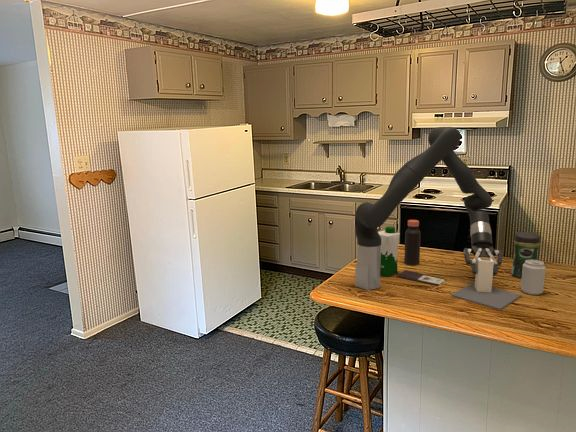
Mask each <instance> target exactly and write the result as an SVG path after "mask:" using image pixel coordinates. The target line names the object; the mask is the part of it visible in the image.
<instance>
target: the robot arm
mask: <svg viewBox="0 0 576 432" xmlns="http://www.w3.org/2000/svg"><path fill="white" fill-rule="evenodd" d="M461 138H462V137H461V132H460V130H459V129H457V128H456V127H452V126H440V127H438V126H437V127H435V128H433V129H432V130H431V131H430V132H429V134H428V137H427V139H428V141H427V142H428V143H429V147H427V148H426V150H424V151H423V152H421V153H419V154H418V155H416V156H414V157H413V158H411V159H410V160H408V161H407V162H405V163H404V164H403V165H402V166H401V167H400V168H399V169H397V171H396V172H395V174H394V175H393V176H392V178H391V180H390V182H389V185H388V188H387V189H386V192H384V193H383V195H382V196H381V197H380V198H379V199H377V201H375V202H374V203H371V202H368V201H367V202H362V203H360V204H359V205H358V206H357V209H356V211H355V214H354V215H355V218H354V221H355V222H354V224H355V225H354V227H355V236H356V240H357V241H356V242H357V243H356V245H357V248H356V250H357V251H356V253H357V254H356V263H355V278H354V279H355V281H354V282H355V283H354V285H355V287H356V288H358V289H359V288H360V289H363V290H365V291H369V290H376V289H379V288H380V287H381V278H382V275H381V237H380V235H379V233H378V232H379V231H378V228H380V227H381V226H383V224H384V223H386V222H387V220H388V219H389V218H390V216H391V215H392V213H393V212H394V211H395V210H396V208H397V207H398V206H399V205H400V204H401V203H402V202H403V200H405V198H407V197H408V196H409V194H410V193H411V192H412V191H413V190H414V189H415V188H416V187H418V185H419V184H421V182H422V181H423V180H424V179H425V177H427V175H428V174H429V173H431V171H432V170H433V169H434V168H435V167H436V166H437V165H438V164H439V163H441V162H442V163H443V164H444V165H445V166H446V167H447V169H448V171H449V172H450V174H451V175H452V177H453V178H454V180H455V182H456V184H457V186H458V188H459V189H460V190H461V192H462V193H463V194H466V195H467V194H469V195H467V196H466V197H465V198H464V199H463V205H464V207H465V209H466V211H467V214H468V217H469V223H470V232H469V233H470V235H469V236H470V239H471V240H470V243H471V248H468V247H465V248H464V249H463V257H464V261H465V263H466V265H470V267H471V273H472V274H473V275H476V274H477V268H476V261H477V258H478V257H488V258H491V259H492V260H493V261H494V266H493V277H495V276H496V275H498V272H499V269H498V267H500V266H501V265H502V263H503V255H504V254H503V249H495V248H494V245H493V237H492V228H491V224H490V216H489V214H488V212H487V211H483V210H484V209H489V208H490V207H491V206H492V203H493V198H492V196H491V195H490V193H489V192H488V191H487V190H486V189H485V188H484V187H482V185H481V184H480V183H479V181H478V180H477V179H476V176H475V175H474V173H473V171H472V170H471V169H470V167H469V166H468V165H467V164H466V163H465V162H464V160H462V159H461V158H460V157H459V155H457V153H456V152H455V149H456V148H457V147H458V146H459V144H460V142H461ZM470 254H472V255H473V259H471V257H470ZM494 254H495V256H496V257H497V260H496V259H495V256H494Z"/></svg>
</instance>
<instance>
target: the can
mask: <svg viewBox="0 0 576 432" xmlns="http://www.w3.org/2000/svg"><path fill="white" fill-rule="evenodd" d="M545 276H546V266H545V262H544V261H542V260H539V259H537V260H526V261H525V263H524V264H523V268H522V278H521V282H520V291H522V292H523V293H524V294H527V295H530V296H538V295H541V294H543V293H544V288H545V287H544V286H545Z"/></svg>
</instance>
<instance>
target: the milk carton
mask: <svg viewBox="0 0 576 432" xmlns="http://www.w3.org/2000/svg"><path fill="white" fill-rule="evenodd" d="M378 233H379V235H380V237H381V277H386V278H390V277H391V276H396V275H398V274H399V273H398V253H399V239H400V235H401V233H400V232H397V231H396V227H394V226H386V227H385V230H381V231H378Z"/></svg>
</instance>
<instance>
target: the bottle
mask: <svg viewBox="0 0 576 432" xmlns="http://www.w3.org/2000/svg"><path fill="white" fill-rule="evenodd" d="M419 225H420V221H419V220H417V219H408V220H407V227H408V228H407V229H406V230H405V232H404V256H403V257H404V258H403V259H404V262H403V263H404V264H405V265H407V266H418V265H420V259H421V258H420V257H421V238H422V237H421V236H422V235H421V231H420V229H419V227H420V226H419Z"/></svg>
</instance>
